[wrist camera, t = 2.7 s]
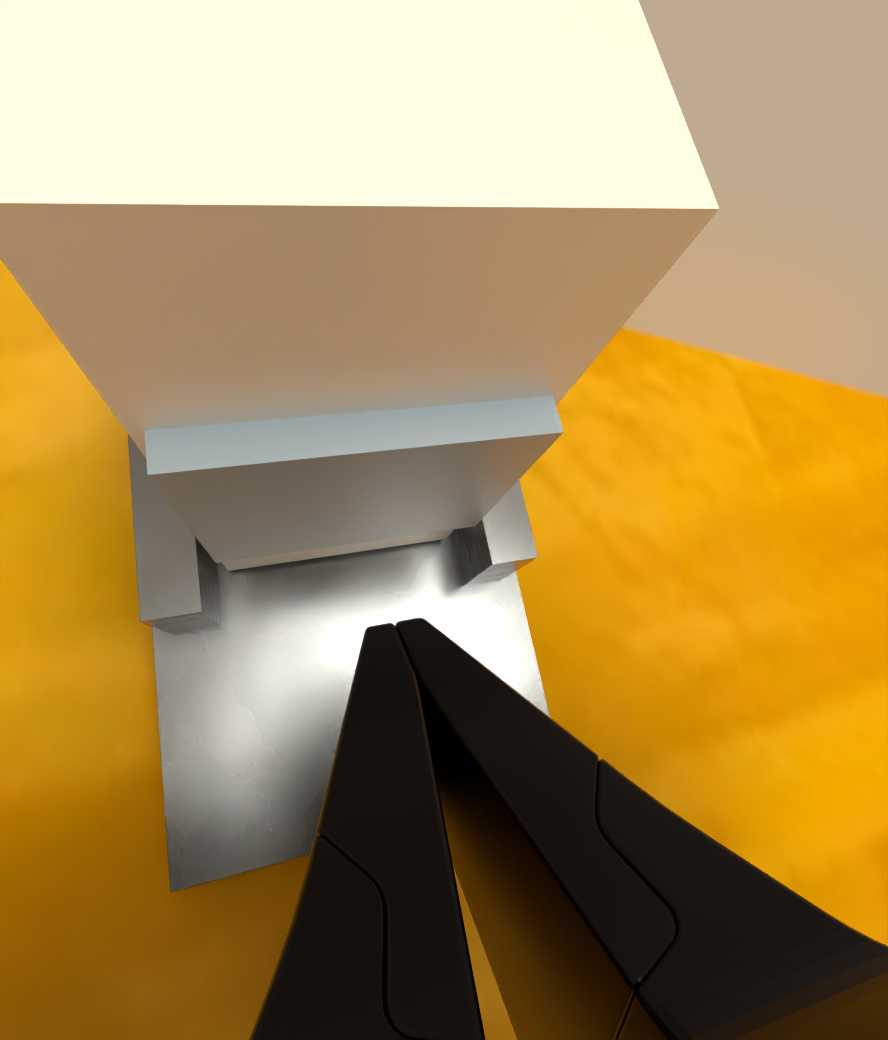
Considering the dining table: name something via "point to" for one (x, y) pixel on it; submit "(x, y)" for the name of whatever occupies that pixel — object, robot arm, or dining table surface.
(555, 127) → the white rectangular block
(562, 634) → the dining table surface
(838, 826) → the dining table surface
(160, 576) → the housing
